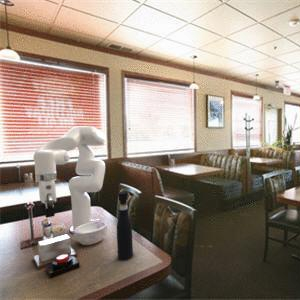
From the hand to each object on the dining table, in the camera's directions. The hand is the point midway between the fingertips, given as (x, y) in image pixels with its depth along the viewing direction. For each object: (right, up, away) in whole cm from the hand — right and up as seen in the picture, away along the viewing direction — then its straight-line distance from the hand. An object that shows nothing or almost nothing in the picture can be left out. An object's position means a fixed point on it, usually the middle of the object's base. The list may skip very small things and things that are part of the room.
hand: (47, 214), depth 107 cm
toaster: (+4, -18, -1) cm, 19 cm away
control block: (+13, -20, -9) cm, 26 cm away
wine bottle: (+36, -20, 0) cm, 41 cm away
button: (+13, -17, -10) cm, 23 cm away
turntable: (+4, -20, 0) cm, 20 cm away
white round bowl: (+11, -19, +16) cm, 27 cm away
